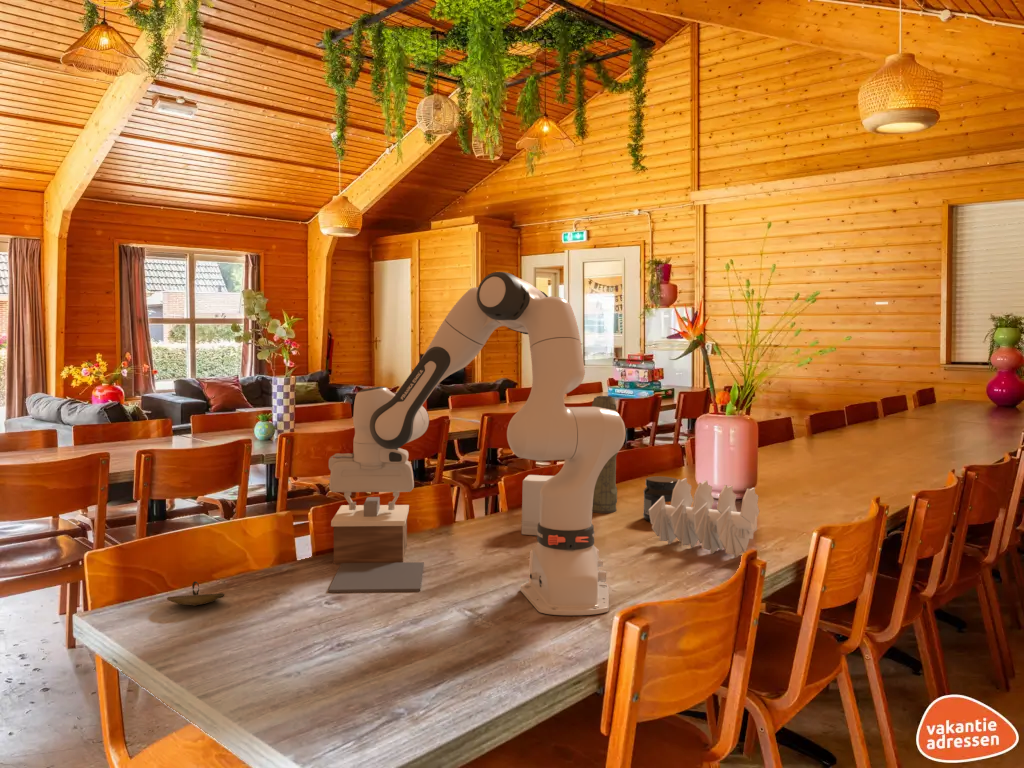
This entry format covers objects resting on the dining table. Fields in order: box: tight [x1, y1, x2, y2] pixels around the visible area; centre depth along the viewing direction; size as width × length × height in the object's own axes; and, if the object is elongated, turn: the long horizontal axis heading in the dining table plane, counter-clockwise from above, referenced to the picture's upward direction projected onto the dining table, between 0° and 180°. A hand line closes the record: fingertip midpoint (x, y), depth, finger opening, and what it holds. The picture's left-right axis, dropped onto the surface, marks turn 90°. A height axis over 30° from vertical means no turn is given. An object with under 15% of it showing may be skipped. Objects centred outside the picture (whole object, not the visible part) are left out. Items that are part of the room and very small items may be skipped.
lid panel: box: [330, 496, 410, 527], centre depth 194 cm, size 17×17×5 cm
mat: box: [328, 561, 425, 594], centre depth 176 cm, size 19×19×1 cm
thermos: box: [591, 395, 619, 514], centre depth 244 cm, size 9×12×35 cm
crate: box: [333, 518, 408, 565], centre depth 195 cm, size 16×16×9 cm
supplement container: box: [642, 475, 678, 523], centre depth 233 cm, size 10×10×12 cm
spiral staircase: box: [649, 477, 760, 559], centre depth 201 cm, size 18×18×25 cm
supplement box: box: [521, 474, 554, 536], centre depth 217 cm, size 9×9×15 cm
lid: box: [166, 580, 225, 607], centre depth 157 cm, size 11×10×5 cm
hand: (372, 509), depth 194 cm, fingers open, 8 cm apart
